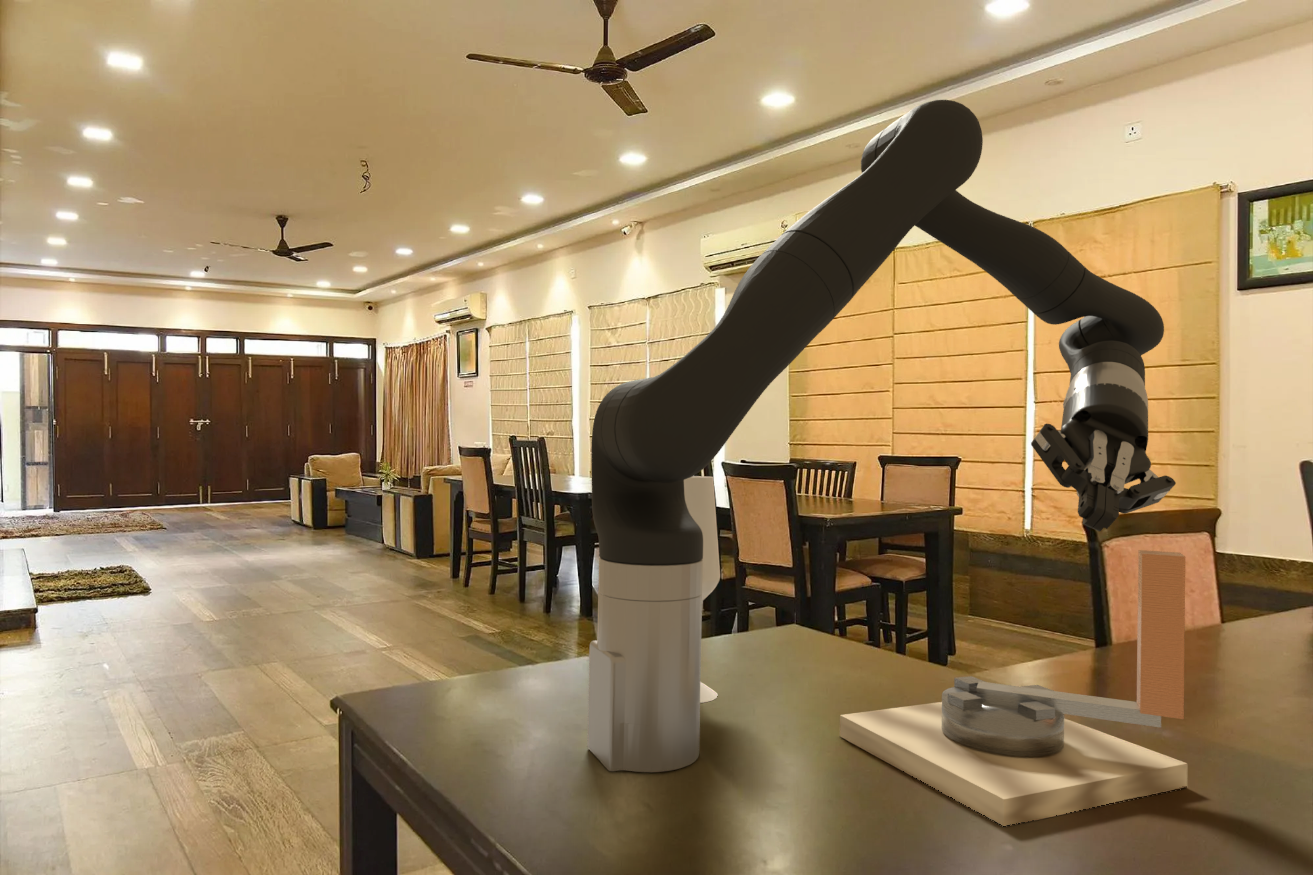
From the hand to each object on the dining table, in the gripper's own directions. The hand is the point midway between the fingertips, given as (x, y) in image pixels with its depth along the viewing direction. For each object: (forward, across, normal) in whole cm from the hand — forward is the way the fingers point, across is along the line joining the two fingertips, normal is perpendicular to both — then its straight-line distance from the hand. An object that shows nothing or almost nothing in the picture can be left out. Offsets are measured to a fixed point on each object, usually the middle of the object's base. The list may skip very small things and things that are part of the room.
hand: (1097, 521), depth 70 cm
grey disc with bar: (+12, +5, +15) cm, 20 cm away
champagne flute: (+12, -25, +36) cm, 45 cm away
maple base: (+13, +2, +18) cm, 23 cm away
